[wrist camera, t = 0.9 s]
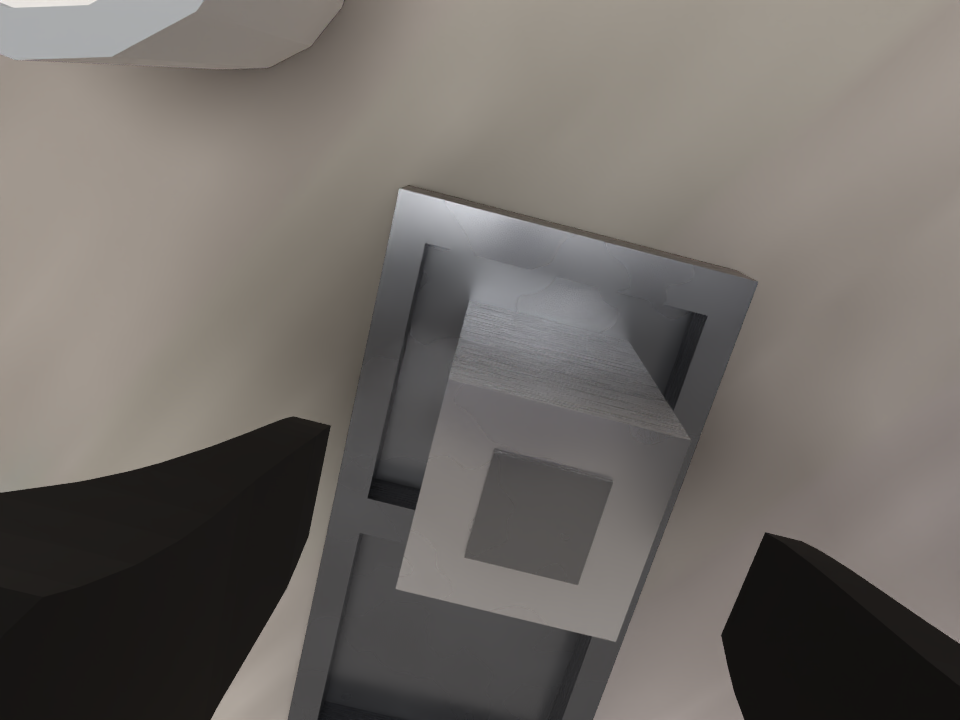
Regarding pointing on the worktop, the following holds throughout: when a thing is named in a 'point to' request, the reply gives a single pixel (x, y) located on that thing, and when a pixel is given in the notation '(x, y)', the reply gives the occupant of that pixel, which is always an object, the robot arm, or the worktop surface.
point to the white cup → (163, 31)
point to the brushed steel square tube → (543, 475)
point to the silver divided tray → (408, 439)
